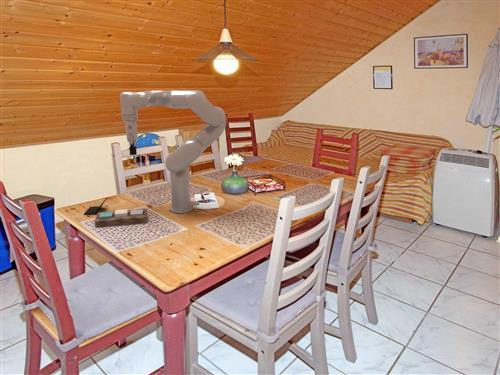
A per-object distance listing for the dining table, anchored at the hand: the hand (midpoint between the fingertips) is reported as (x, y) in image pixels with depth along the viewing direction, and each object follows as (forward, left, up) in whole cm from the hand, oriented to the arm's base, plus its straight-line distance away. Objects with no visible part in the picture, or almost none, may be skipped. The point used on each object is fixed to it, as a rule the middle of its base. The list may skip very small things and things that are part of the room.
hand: (133, 154), depth 190 cm
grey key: (0, +15, -28) cm, 31 cm away
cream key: (+7, +15, -27) cm, 32 cm away
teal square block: (+14, +15, -28) cm, 34 cm away
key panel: (+7, +15, -29) cm, 33 cm away
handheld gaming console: (+21, -2, -30) cm, 36 cm away
